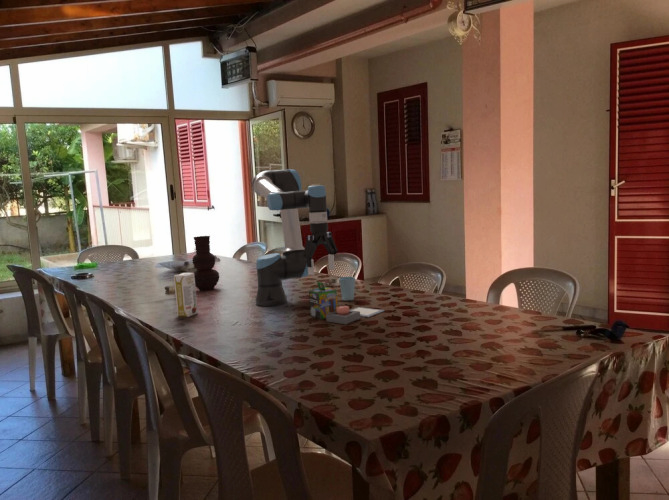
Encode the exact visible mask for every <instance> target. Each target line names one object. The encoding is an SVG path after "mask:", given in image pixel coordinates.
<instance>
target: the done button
mask: <svg viewBox="0 0 669 500" xmlns="http://www.w3.org/2000/svg"><path fill="white" fill-rule="evenodd" d="M336 308H337V314H338V315H347V314H349V310H350V306H349V305H338V307H336Z"/></svg>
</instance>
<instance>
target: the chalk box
mask: <svg viewBox="0 0 669 500" xmlns="http://www.w3.org/2000/svg"><path fill="white" fill-rule="evenodd" d="M316 283H317V286H318V288H314V289H309V290H308V299H309V300H308V301H309V309H310V310H309V311H310V316H311V317H314V318H316V319H319V320H324V319H326V314H328V313H331V312H334V311H337V308H336V307H338V306H339V305H338V291H337V288H331V287H327V286H326V287H325V285H324V283H323V282H320V281H317V282H316Z"/></svg>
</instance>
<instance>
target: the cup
mask: <svg viewBox="0 0 669 500" xmlns="http://www.w3.org/2000/svg"><path fill="white" fill-rule="evenodd" d="M338 279H339V280H338V281H339V286H340V293H341V298H342V299H341V300H342V301H345V302H346V301H348V302H349V301H353V300H354V299H355V285H356V277H355V276H342V277H341V276H340V277H339V278H338Z"/></svg>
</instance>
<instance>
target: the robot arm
mask: <svg viewBox="0 0 669 500" xmlns="http://www.w3.org/2000/svg"><path fill="white" fill-rule="evenodd" d="M302 186H303V185H302V179H301V176H300V174H299V172H298V171H297V170H296V169H290V168H289V169H288V168H285V169H271V170H262V171H261V172H258V173H257V174H256V175H255V176H254V177H253V179H252V181H251V188H252V190H253V192H254V193H255V194H256V195H258V196H259V197H260V196H261V197H263V198H264V199H265V200H266V204H267V205H266V206H267V207H268V210H269V211H280V219H281V225H282V233H283V234H282V235H283V241H284V243H283V244H284V250H283V251H282V255H281V254H280V253H278V252H275V253H267V254H264V255H261V256H259V257H258V258H256V263H255V264H256V266H255V268H256V276H257V277H256V278H257V292H256V297H255V298H254V299H255V305H257V306H260V307H272V306H279V305H280V306H281V305H284V304H286V303H287V302H288V297H287V295H286V293H285V290H284V287H283V281H284V280H291V279H293V280H294V279H301V278H306V277H308V276H315V266H314V261H315V260H314V259H313V257H314V255H315V252H316V250H317V248H318V247H319V245H323V246H324V248H325V249H326V251H327V253H328V255H327V259H328V260H327V261H328V262H327V263H328V270H331V271H332V270H333V271H335V270H336V266H335V261H336V259H335V258H336V257H335V255H337V253H338V251H339V250H338V247H337V245H336V243H335V240H334V238H333V232H331V231H329V223H328V222H327V221H328V212H327V211H328V208H327V205H328V204H327V192H326V186H325V185H323V184H322V185H321V184H320V185H309V186H308V187H307V189H305V190H302ZM299 209H308V218H309V220H308V221H309V223H310V224H309V231H310V232H311V234H310V235H306V243H305V246H304V245H303V240H302V239H303V238H302V233H301V226H300V225H301V224H300V216H299V211H298V210H299Z"/></svg>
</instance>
